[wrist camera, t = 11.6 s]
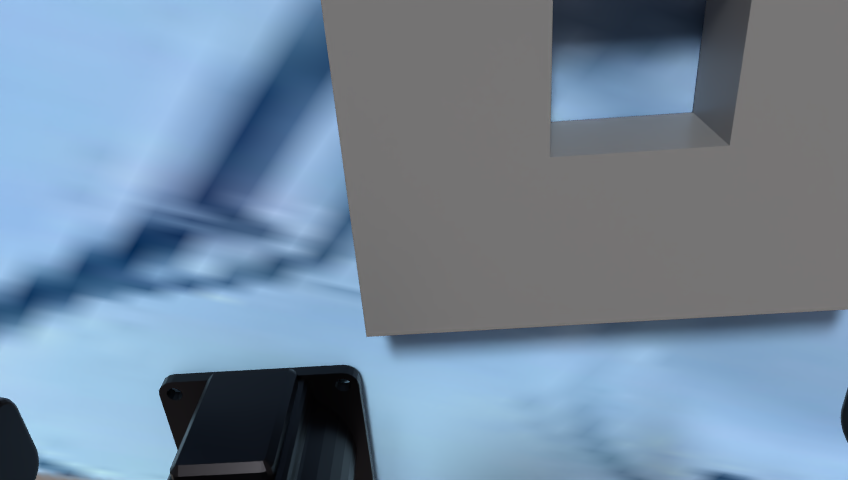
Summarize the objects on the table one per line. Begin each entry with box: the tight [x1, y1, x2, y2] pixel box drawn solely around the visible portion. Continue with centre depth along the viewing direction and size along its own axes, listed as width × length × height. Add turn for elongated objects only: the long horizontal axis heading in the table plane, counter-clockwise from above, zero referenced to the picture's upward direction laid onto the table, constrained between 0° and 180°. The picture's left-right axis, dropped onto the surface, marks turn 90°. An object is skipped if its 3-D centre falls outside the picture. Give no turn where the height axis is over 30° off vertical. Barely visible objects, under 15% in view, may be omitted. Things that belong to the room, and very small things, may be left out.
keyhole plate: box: [321, 0, 848, 337], centre depth 16 cm, size 14×14×2 cm
